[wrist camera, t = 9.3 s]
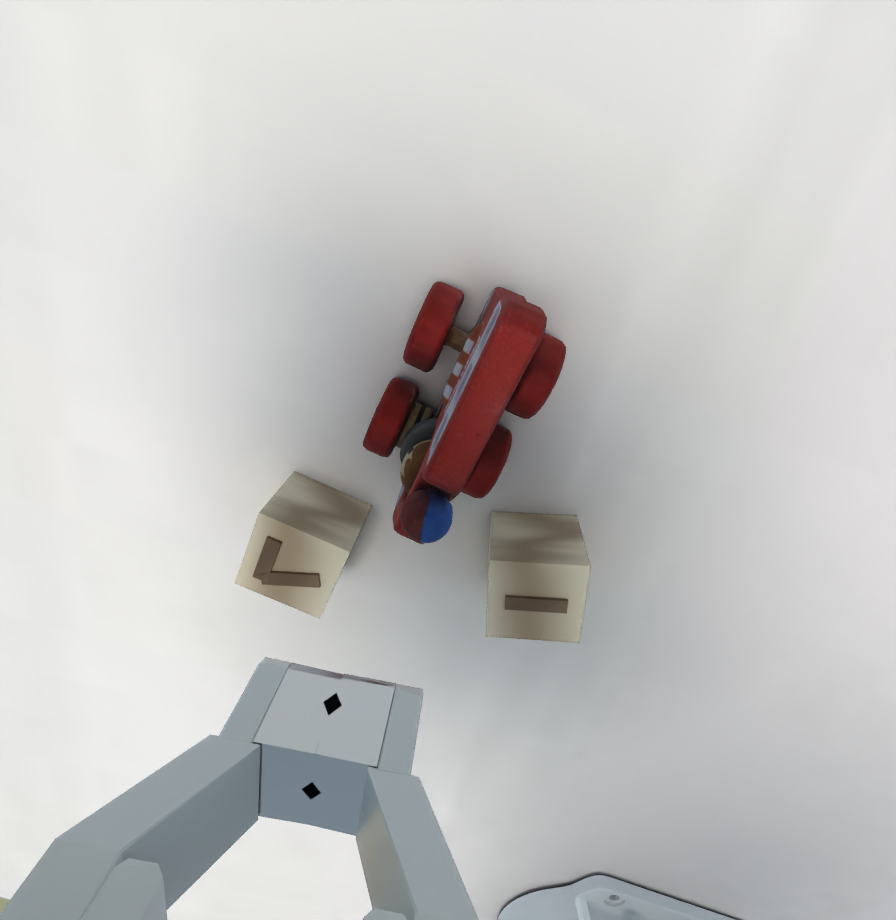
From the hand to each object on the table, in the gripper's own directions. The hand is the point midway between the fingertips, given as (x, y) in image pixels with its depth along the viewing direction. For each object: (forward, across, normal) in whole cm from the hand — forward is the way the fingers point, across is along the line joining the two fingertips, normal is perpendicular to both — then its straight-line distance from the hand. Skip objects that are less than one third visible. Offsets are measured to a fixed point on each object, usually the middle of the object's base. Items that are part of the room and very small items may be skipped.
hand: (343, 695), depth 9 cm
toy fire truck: (+20, -1, 0) cm, 20 cm away
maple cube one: (+20, -7, +9) cm, 23 cm away
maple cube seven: (+20, +6, +10) cm, 23 cm away
